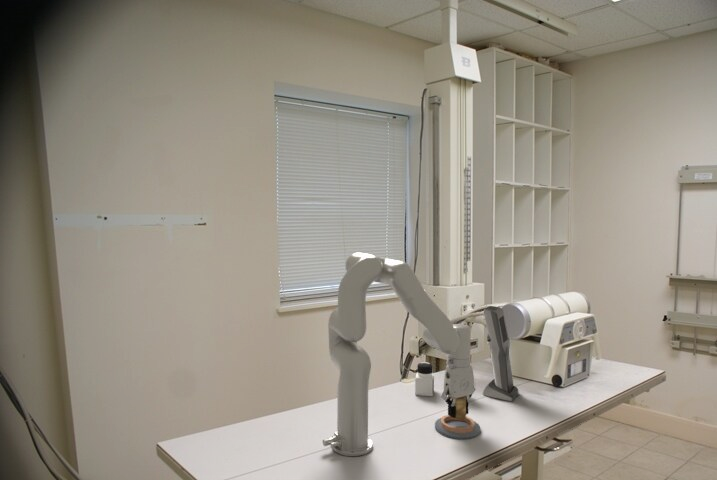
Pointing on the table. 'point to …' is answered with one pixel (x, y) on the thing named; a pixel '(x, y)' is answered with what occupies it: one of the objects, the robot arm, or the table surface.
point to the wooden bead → (460, 408)
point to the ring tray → (459, 424)
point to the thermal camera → (499, 356)
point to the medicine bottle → (424, 380)
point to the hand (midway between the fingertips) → (458, 414)
